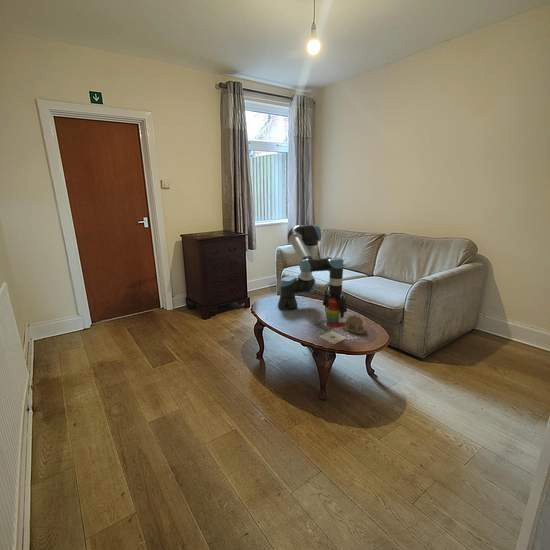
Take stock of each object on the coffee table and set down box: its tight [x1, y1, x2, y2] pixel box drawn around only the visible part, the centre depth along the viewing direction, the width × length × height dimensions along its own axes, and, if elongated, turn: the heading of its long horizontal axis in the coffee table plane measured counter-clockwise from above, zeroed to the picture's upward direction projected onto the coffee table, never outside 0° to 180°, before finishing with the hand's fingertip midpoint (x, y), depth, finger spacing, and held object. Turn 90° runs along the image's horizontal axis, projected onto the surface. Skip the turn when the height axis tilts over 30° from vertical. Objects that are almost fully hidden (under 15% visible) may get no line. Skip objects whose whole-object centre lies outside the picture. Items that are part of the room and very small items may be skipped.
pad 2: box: [318, 330, 348, 345], centre depth 193 cm, size 12×12×1 cm
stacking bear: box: [325, 298, 345, 329], centre depth 188 cm, size 11×10×18 cm
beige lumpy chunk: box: [342, 314, 365, 334], centre depth 203 cm, size 14×11×10 cm
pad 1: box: [313, 318, 333, 332], centre depth 211 cm, size 12×12×1 cm
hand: (333, 319), depth 190 cm, fingers closed on stacking bear, 9 cm apart
